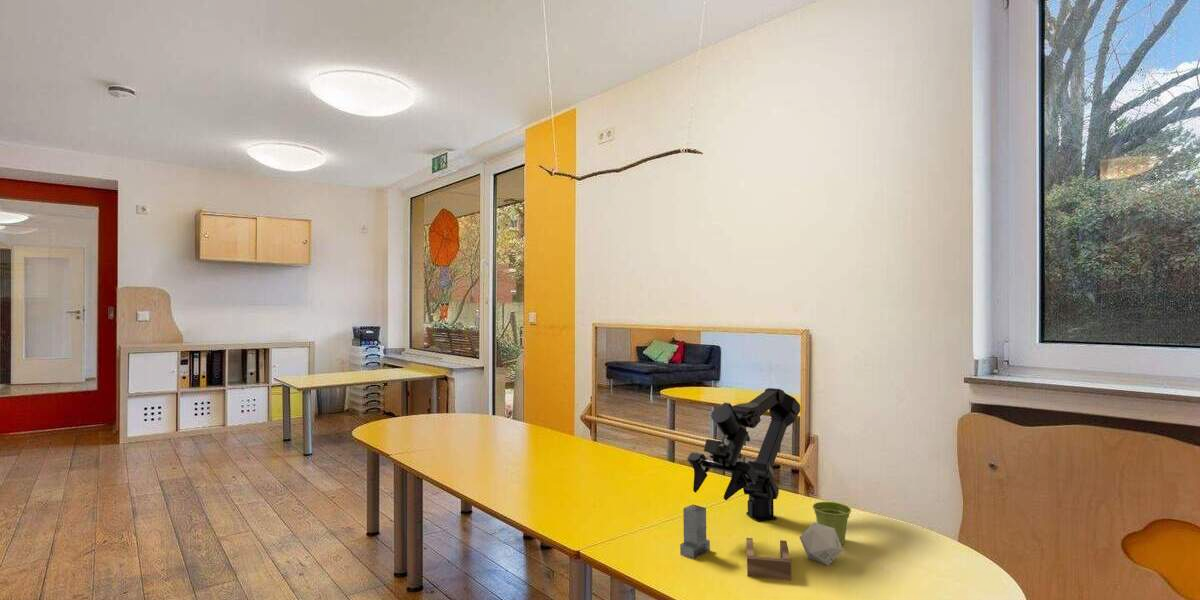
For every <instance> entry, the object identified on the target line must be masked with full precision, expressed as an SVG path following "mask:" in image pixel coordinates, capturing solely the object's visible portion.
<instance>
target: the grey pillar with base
mask: <svg viewBox="0 0 1200 600" xmlns="http://www.w3.org/2000/svg"><path fill="white" fill-rule="evenodd" d="M682 511H683V512H682V513H683V515H682V516H683V542H682V543H681V544H679V545H680V546H679V552H680V553H679V554H680V556H683V557H687V558H689V559H693V560H695V559H697V558H699V557H701V556H702V555H704V554H706V553H708V552H709V551H711V544H710V543H711V540H710V539H707V508H706V507H704V506H700V505H696V504H691V505H688V506H685V507H683V509H682Z"/></svg>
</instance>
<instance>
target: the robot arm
mask: <svg viewBox="0 0 1200 600" xmlns="http://www.w3.org/2000/svg"><path fill="white" fill-rule="evenodd" d="M768 411H769V414H770V419H771V420H770V422H769V426H768V428H767V430H766V433H765V436H764V439H763V441H762V443H761V446H760V449H759V452H758V454H757V457H756V459H755V460H754V461H752V460H749V461H746V462H745V461H738V460H741V459H742V457H743V456H742V454H741V453H742V450H743V448H744V445H745V443H746V442H750V441H751V437H750V435H749V431H747V429H746V428H748V429H755V428H756V427H757V426H758V424H760V422H761V420H762V419H761V417H762V416H763V414H765V413H766V412H768ZM800 412H801V405H800V402H799V401H797V399H796V398H795V397H794V396H791V395H789V394H788V393H787V392H785V391H784V390H782V389H781V388H773V387H768V388H766V389H765V390H764V392H762V393H760V394H759V395H758V396H756V397H754V398H753V399H752V400H751V401H749V402H745V403H738V404H735V405H732V404H731V403H730V402H723V403H722V405H719V406H718V407H716V408H715V409H713V410H712V411H711V413H710V416H711V419H712V421H713V423H714V424H715V426H716V428H717V429H718V431H719V432H720V433H721V434H722V435H723V437H722V438H721V440H714V439H709V438H708V439H707V438H706V441H705V444H704V448H703V451H704V453H705V452H707V453H709V455H708V456H709V457H710V458H711V459H712V460H709V459H707V457H706V455H705V454H704V453H698V452H694V451H693V452H690V453H689V454H688V457H687V459H686V460H687V462H688V463H689V464H690V466H692V468H693V475H694V476H693V487H692V491H693V492H694V493H697V492H698V491H699V489H700V488H701V486H702V485H703V483H704V482H705V480H706V478H707V477H708V474H707V473H708V472H709V471H710V470H711V469H713V470H717V471H721V472H727V473H731V478H730V481H729V483H728V485H727V488H726V490H725V492H724V495H723V500H724V501H727V500H729V499H730V498H732V497H733V496H734V495H735V494H736V493H738V492H739V491H741V490H742V491H743V494H744V495H748V500H747V511H746V513H745V514H746V515H747V516H749V517H750V518H752V519H753V520H754V521H756V522H761V521H762V522H763V521H771V520H777V516H776V515H775V513H774V510H775V508H774V500H777V499H778V496H779V491H780V489H779V487H778V485H777V484H776V483H775V478H776V477H775V474H774V470H773V467H774V463H775V461H776V458H777V455H778V453H779V450H780V447H781V445H782V442H783V440H784V436H785V433H786V431H787V428H788V427H789V426H791V425H792V424H793V423H795V421H796V420H797V418H798V416H799V414H800Z"/></svg>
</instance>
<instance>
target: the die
mask: <svg viewBox="0 0 1200 600" xmlns="http://www.w3.org/2000/svg"><path fill="white" fill-rule="evenodd" d="M799 540H800V542H801V545H802V547H803V550H804V552H805V554H806V557H807V559H809V560H811V561H815V562H817V563H820V564H823V565H825V566H826V565H827V566H830V565H831V563H832V562H833V561H834V560H835V559H836V558H837V557H838V556H839V555H840V554H841V553H842V552H843V551H844V548H843V546H842V544H841V543H840V541H839V538H838V536H837V534H836V531H835V529H834V528H832V527H828V526H825V525H821V524H818V523H817V522H813V523H812V524H811V525H810V526H809V527H808V528H807V529H806V530H805V531H803V533H801V535H800V536H799Z"/></svg>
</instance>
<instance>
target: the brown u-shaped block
mask: <svg viewBox="0 0 1200 600" xmlns="http://www.w3.org/2000/svg"><path fill="white" fill-rule="evenodd" d="M745 540H746V541H745V542H746V544H745V545H746V546H745V547H746V552H745V553H746V571H747V572H746V573H747V577H751V578H752V577H754V578H762V579H763V578H765V579H776V580H785V581H792V559H791V555H790V550H789V545H788V540H781V539H779V549H780V550H779V557H768V556H757V555H756V556H755V554H754V542H753V541H754V540H753V537H746V538H745Z"/></svg>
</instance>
